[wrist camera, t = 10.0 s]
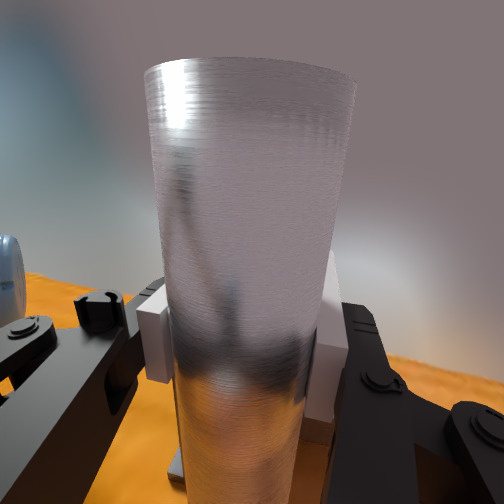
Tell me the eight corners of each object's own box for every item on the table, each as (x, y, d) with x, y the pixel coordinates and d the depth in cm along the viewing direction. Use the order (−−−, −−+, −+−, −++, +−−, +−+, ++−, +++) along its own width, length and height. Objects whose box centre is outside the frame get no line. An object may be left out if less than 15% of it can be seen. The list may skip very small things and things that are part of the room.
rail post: (169, 547, 10) (85, 60, 4) (210, 435, 14) (199, 103, 8) (280, 588, 9) (380, 53, 3) (290, 457, 13) (344, 104, 7)
